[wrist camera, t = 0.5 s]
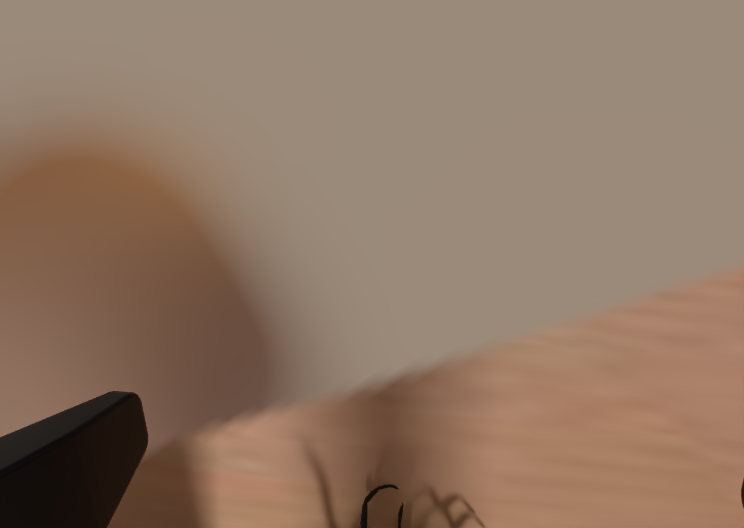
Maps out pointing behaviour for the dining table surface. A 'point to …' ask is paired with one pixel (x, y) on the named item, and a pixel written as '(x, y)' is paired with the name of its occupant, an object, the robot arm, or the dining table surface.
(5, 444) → the robot arm
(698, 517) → the dining table surface
